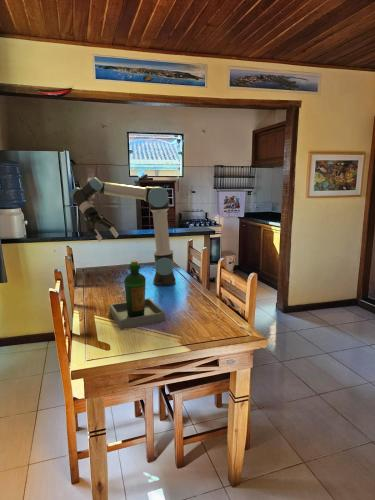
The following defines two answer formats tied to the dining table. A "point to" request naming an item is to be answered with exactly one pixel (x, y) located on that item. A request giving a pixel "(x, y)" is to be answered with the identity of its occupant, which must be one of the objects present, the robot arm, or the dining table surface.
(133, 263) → the bottle
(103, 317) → the dining table surface
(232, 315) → the dining table surface
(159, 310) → the tray
